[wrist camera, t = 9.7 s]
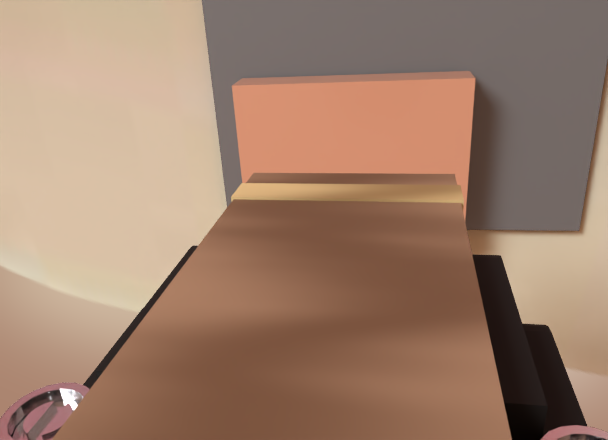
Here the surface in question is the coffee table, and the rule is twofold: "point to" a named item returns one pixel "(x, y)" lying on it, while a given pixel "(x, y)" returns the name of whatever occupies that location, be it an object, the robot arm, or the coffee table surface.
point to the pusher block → (313, 323)
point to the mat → (443, 58)
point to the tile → (356, 124)
